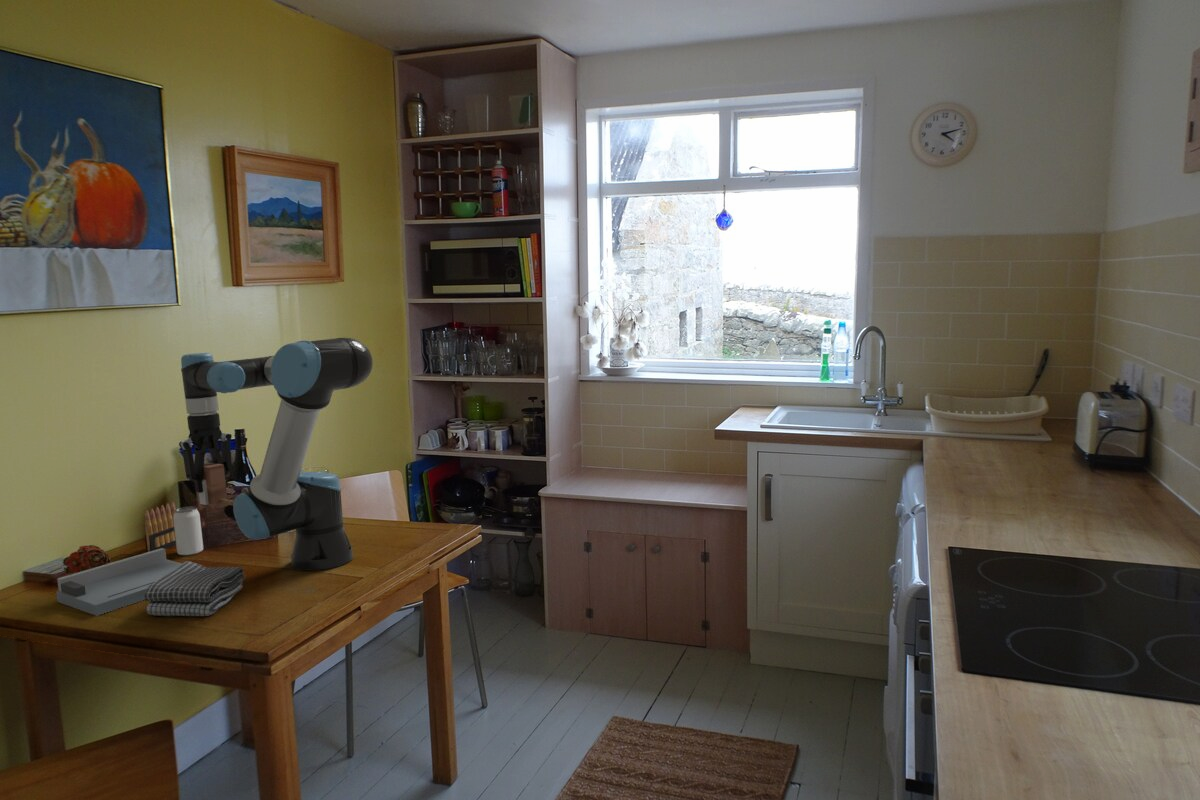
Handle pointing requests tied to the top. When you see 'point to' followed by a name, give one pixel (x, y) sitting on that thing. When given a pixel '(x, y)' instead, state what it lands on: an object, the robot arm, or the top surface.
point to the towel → (193, 590)
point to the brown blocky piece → (215, 486)
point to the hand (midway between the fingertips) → (212, 501)
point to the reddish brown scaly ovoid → (85, 559)
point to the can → (188, 531)
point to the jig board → (114, 583)
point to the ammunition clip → (160, 528)
